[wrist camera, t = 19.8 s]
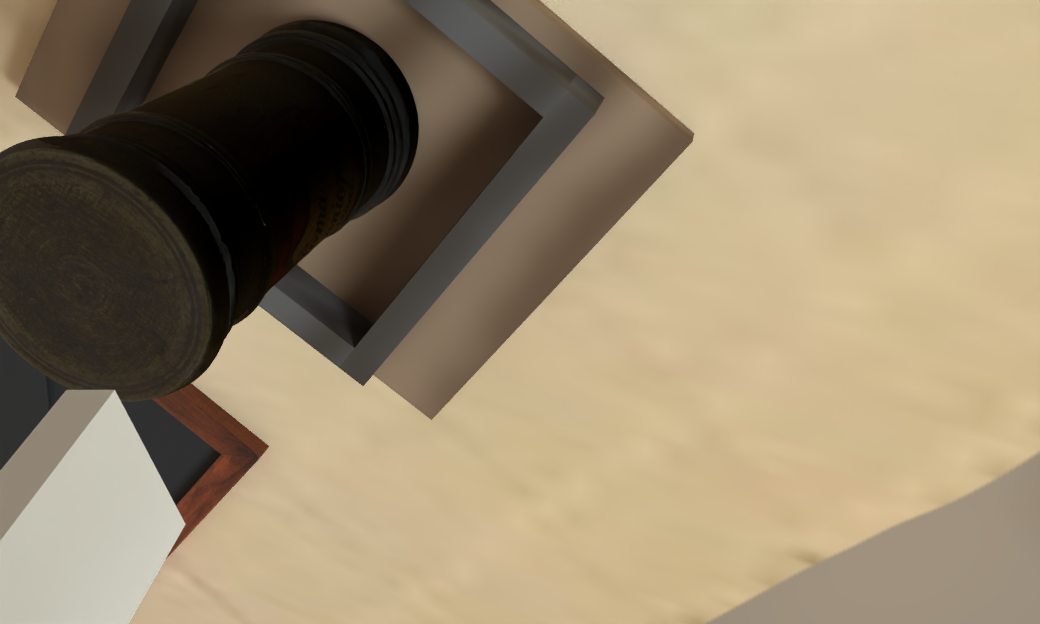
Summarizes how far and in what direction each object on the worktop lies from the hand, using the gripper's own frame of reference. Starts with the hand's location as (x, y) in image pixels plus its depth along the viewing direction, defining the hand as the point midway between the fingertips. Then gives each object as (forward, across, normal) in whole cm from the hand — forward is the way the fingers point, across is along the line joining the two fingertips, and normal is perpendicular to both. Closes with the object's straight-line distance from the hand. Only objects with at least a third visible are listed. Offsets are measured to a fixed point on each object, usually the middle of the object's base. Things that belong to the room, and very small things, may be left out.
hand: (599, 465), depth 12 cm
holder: (+30, -16, -8) cm, 35 cm away
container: (+29, -16, -8) cm, 34 cm away
